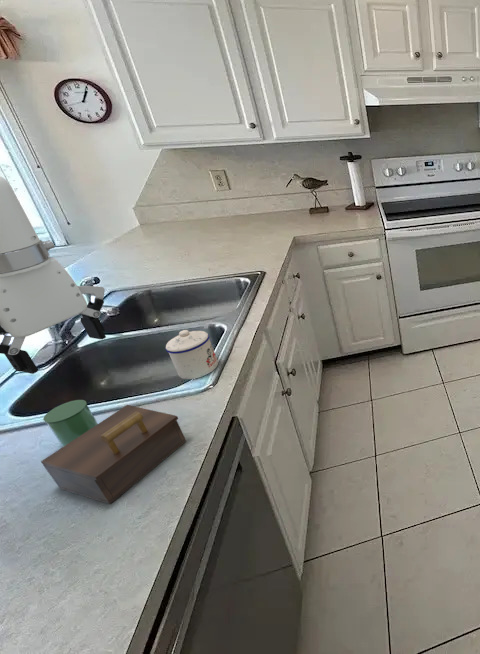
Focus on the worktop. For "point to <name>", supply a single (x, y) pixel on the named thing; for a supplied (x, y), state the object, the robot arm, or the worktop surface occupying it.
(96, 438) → the lid
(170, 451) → the chest
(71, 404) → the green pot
